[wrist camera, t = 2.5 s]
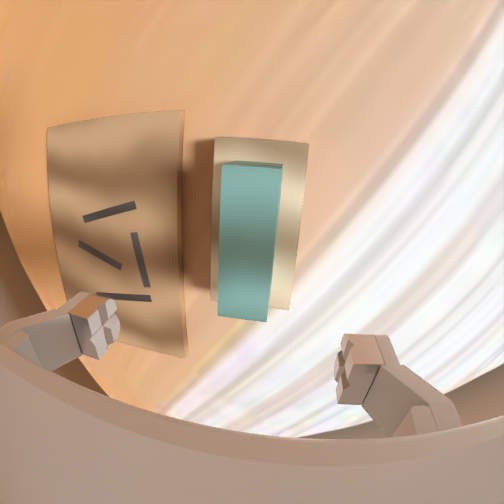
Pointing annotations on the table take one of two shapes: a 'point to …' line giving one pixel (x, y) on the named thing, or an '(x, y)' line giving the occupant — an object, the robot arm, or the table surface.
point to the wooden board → (123, 220)
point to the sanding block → (255, 224)
